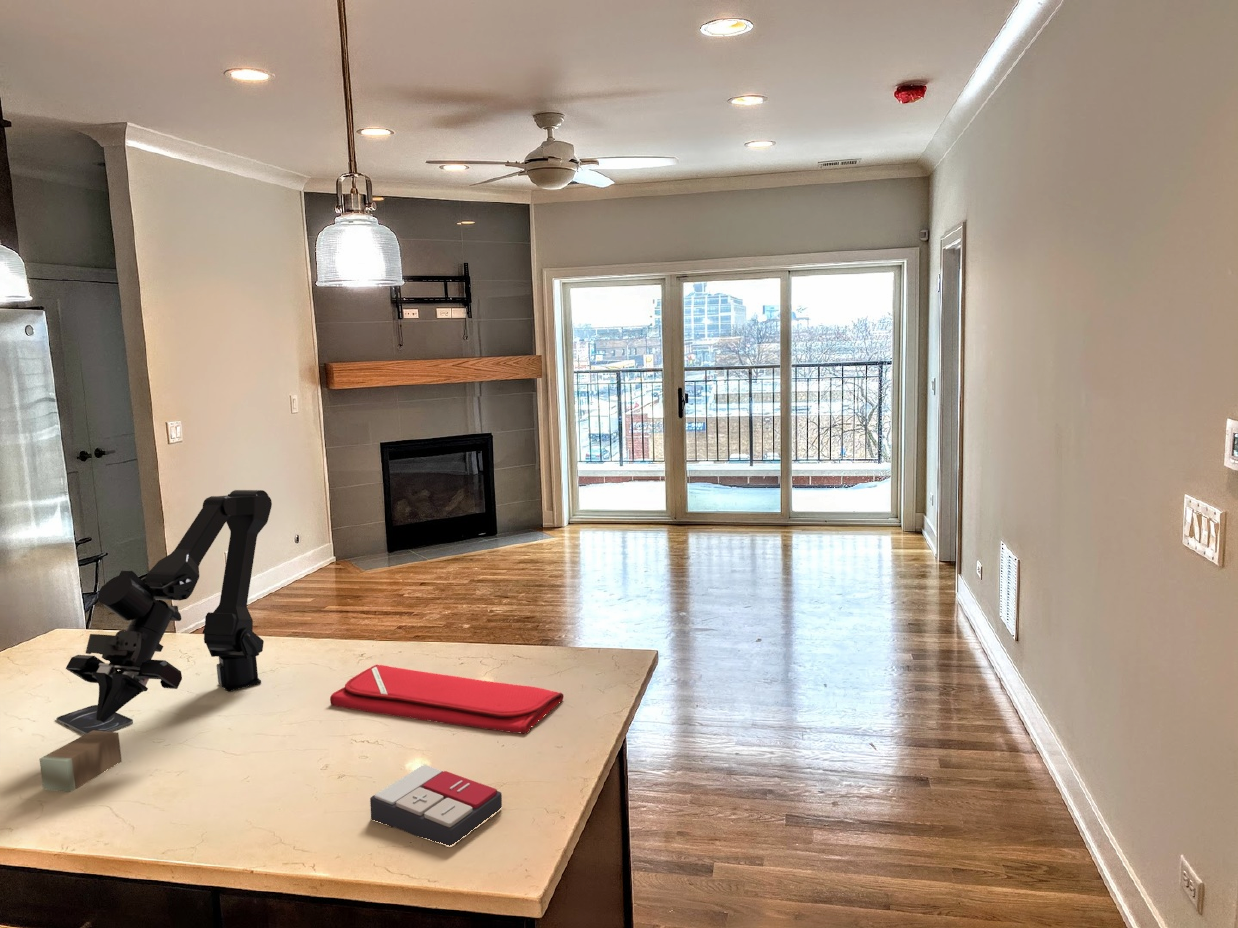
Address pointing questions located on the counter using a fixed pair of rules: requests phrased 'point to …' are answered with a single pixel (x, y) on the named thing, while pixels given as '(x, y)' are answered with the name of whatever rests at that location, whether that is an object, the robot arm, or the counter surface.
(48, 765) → the walnut block
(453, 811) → the calculator
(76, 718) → the smartphone
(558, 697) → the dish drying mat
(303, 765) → the counter surface
